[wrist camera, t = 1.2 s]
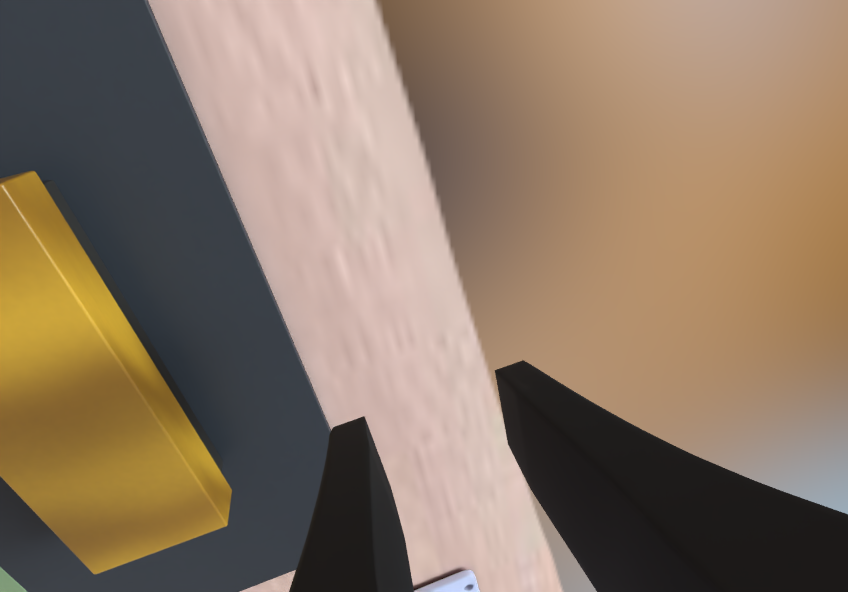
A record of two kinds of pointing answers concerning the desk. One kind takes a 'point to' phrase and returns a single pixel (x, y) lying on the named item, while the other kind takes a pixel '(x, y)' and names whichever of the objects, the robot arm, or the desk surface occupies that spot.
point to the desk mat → (160, 288)
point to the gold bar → (91, 397)
